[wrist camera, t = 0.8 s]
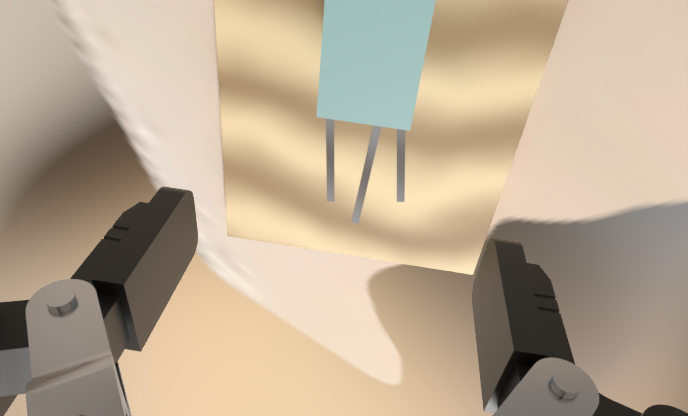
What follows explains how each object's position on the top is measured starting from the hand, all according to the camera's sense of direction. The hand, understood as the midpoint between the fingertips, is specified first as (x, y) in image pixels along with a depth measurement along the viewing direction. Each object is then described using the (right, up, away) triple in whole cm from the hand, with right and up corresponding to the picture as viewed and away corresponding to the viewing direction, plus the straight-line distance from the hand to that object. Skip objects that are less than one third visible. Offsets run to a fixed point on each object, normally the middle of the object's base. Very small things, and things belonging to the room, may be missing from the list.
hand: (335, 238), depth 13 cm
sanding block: (+2, +12, +12) cm, 17 cm away
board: (+2, +7, +17) cm, 19 cm away
